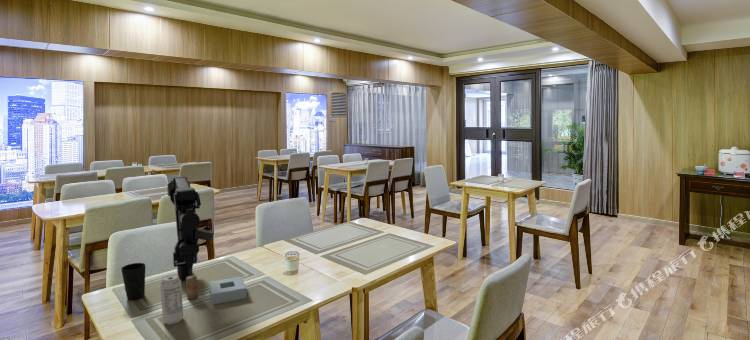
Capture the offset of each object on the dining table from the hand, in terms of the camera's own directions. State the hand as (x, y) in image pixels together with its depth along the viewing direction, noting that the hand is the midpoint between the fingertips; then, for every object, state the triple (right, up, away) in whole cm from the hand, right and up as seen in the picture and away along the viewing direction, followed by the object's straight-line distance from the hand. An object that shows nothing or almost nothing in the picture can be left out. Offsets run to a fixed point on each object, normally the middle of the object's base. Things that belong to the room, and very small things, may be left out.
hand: (190, 265), depth 148 cm
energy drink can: (+1, -15, -15) cm, 21 cm away
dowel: (0, -13, +2) cm, 13 cm away
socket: (+12, -12, +4) cm, 18 cm away
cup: (-21, -13, +2) cm, 25 cm away
